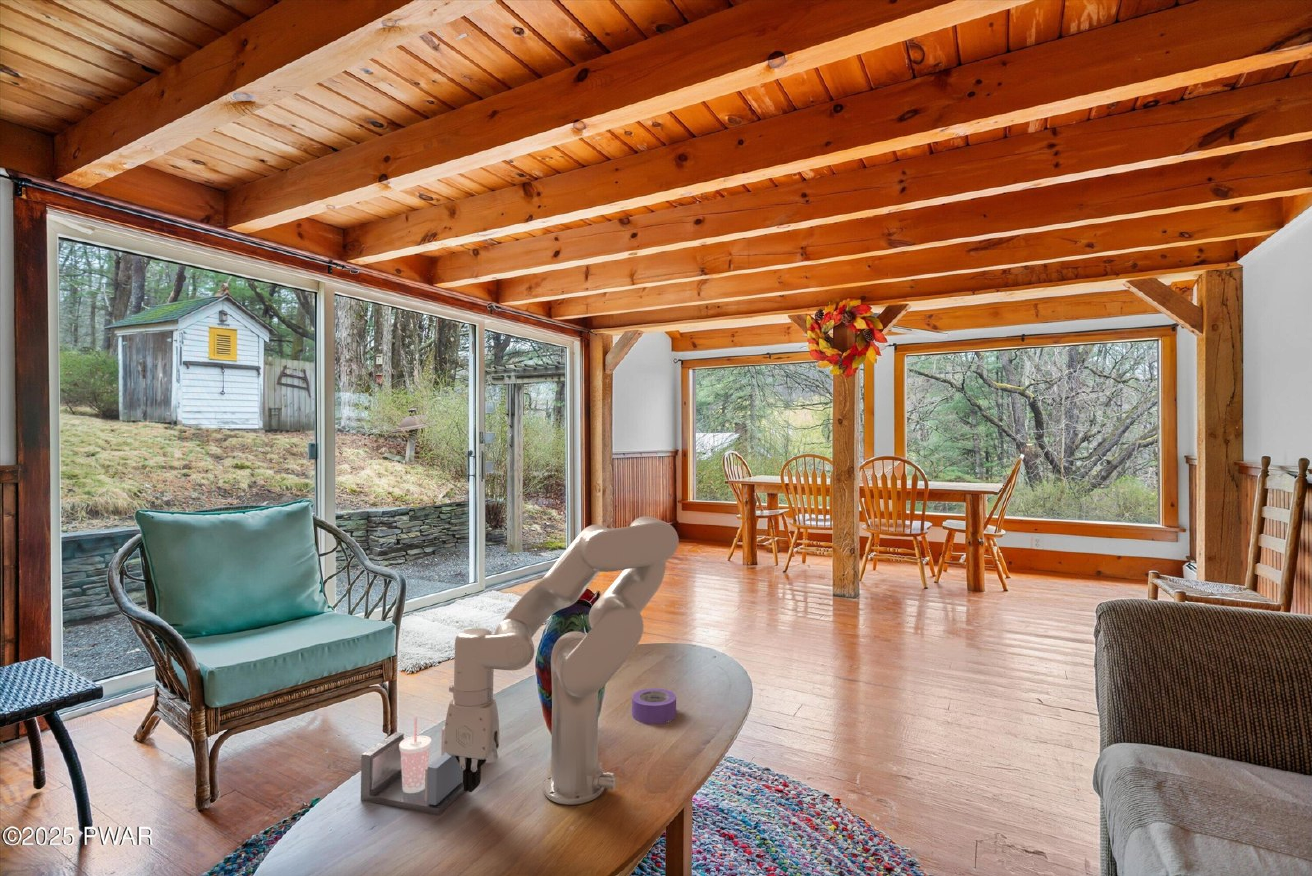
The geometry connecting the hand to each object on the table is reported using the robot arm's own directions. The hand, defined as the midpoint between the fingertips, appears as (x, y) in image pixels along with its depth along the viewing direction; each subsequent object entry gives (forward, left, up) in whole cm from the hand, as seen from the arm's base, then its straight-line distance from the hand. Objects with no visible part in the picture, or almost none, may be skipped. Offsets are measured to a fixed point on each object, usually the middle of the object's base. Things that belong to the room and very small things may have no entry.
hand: (471, 788), depth 120 cm
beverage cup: (+13, 0, -2) cm, 13 cm away
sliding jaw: (+6, 0, -2) cm, 6 cm away
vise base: (+13, 0, -3) cm, 13 cm away
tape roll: (-23, -50, -4) cm, 55 cm away
